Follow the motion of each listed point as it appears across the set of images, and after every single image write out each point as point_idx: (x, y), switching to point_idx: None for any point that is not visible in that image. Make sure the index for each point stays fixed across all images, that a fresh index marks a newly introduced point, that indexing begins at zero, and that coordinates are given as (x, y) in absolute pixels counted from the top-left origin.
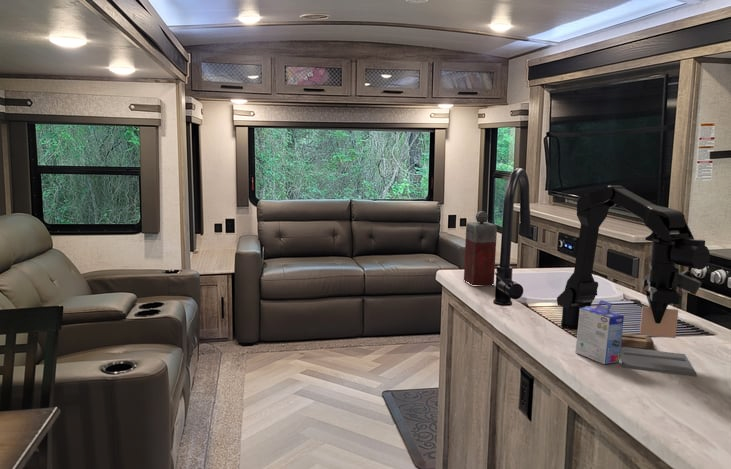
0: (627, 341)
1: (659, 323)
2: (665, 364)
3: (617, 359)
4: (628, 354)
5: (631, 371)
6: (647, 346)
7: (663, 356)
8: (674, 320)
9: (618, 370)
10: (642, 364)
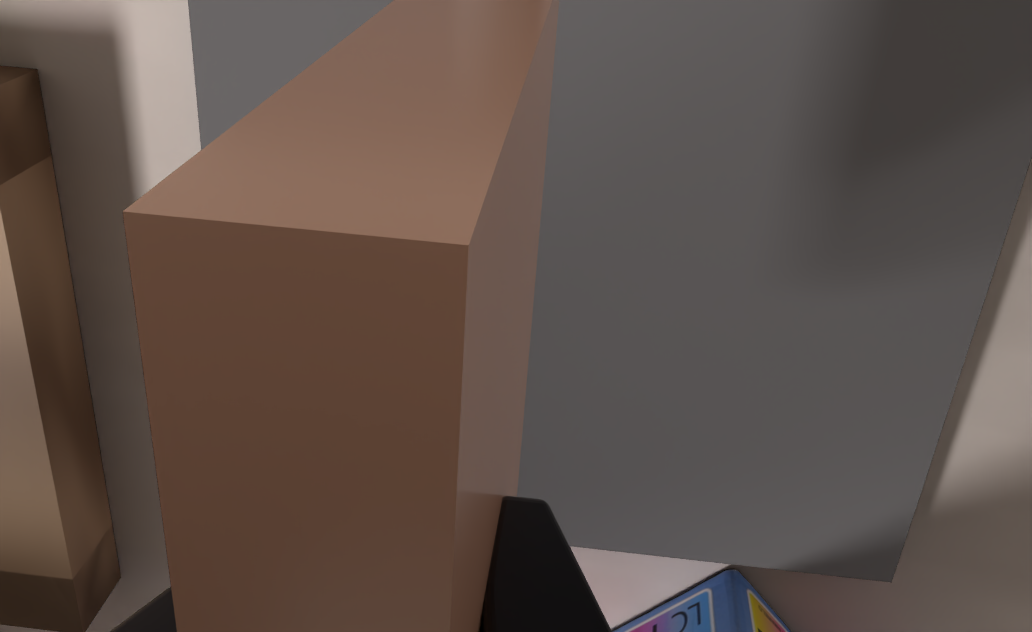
0: (56, 408)
1: (547, 511)
2: (799, 91)
3: (763, 618)
4: None
5: (1016, 511)
6: (32, 152)
7: None
8: (520, 176)
9: (995, 619)
10: (849, 388)
